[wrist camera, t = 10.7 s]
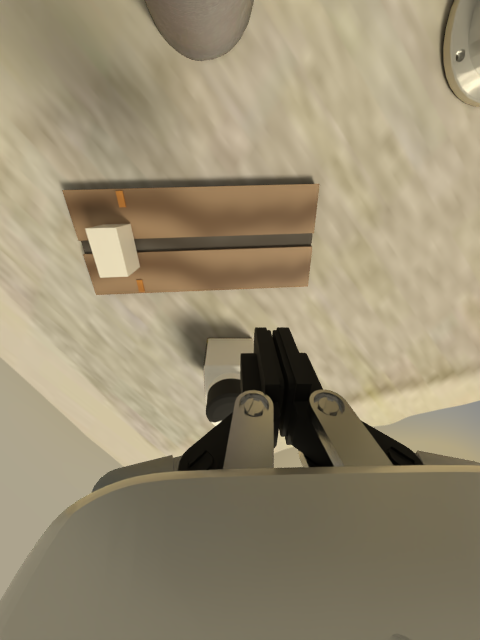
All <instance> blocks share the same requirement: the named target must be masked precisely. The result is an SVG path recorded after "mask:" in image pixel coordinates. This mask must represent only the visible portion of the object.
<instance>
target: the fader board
mask: <svg viewBox="0 0 480 640" xmlns="http://www.w3.org/2000/svg"><path fill="white" fill-rule="evenodd" d="M62 191H63V194H64V197H65V200H66V203H67V206H68V209H69V213H70V216H71V219H72V222H73V225H74V228H75V231H76V234H77V237H78V240H79V241H81V242H82V245H83V248H84V251H85V254H83V256H84V259H85V262H86V265H87V268H88V271H89V274H90V277H91V280H92V283H93V286H94V290H95V293H96V295H104V294H129V293H154V292H179V291H204V290H229V289H254V288H279V287H304V286H308V280H309V271H310V262H311V254H312V246H311V242H312V233H314V227H315V219H316V210H317V201H318V192H319V184H293V185H252V186H212V187H171V188H131V189H90V190H62ZM104 224H131V228H132V233H133V237H134V242H135V246H136V251H137V255H138V260H139V264H140V268H138V269H137V270H136V271H135V272H133V273H132V274H131V275H130V276H128V277H106V278H100V276H99V273H98V269H97V266H96V263H95V259H94V256H93V253H92V250H91V246H90V243H89V240H88V237H87V233H86V230H85V228H90V227H94V226H99V225H104Z"/></svg>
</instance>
